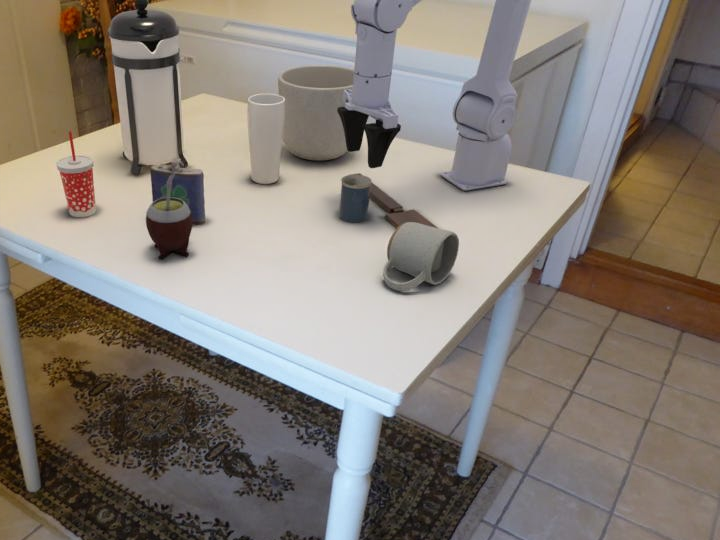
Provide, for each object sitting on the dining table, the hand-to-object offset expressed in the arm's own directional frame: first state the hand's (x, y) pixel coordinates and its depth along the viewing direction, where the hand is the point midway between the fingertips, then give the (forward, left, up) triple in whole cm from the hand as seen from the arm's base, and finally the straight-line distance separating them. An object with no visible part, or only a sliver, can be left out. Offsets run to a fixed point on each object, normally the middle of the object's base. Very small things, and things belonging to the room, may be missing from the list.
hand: (363, 158), depth 113 cm
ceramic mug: (+3, +23, -10) cm, 25 cm away
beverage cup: (+45, -16, -10) cm, 49 cm away
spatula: (-6, 0, -9) cm, 11 cm away
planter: (-5, -27, -10) cm, 29 cm away
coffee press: (+28, -35, -10) cm, 46 cm away
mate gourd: (+34, +4, -10) cm, 36 cm away
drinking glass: (+10, -18, -10) cm, 23 cm away
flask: (+30, -7, -10) cm, 33 cm away
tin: (+2, +2, -9) cm, 10 cm away
